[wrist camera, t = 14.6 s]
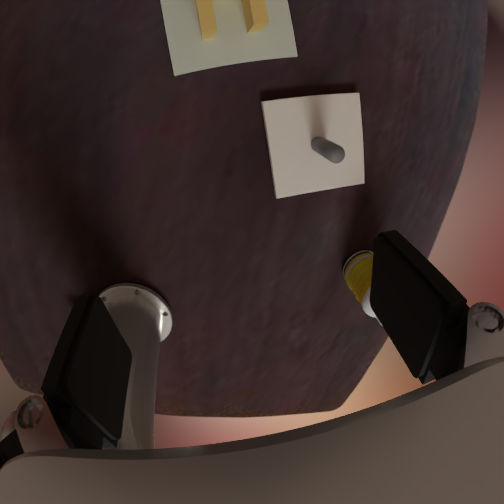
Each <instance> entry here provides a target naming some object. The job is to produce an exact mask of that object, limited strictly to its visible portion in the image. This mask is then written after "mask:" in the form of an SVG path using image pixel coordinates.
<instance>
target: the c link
mask: <svg viewBox="0 0 504 504" xmlns="http://www.w3.org/2000/svg"><path fill="white" fill-rule="evenodd" d="M195 2H196V8H197V13H198V19H199V24H200V30H201V35H202V40H206V39H212V38H216V35H217V30H218V29H217V24H216V18H215V13H214V8H213V2H212V0H195ZM241 2H242V7H243V12H244V17H245V23H246V28H247V33H253V32H261V31H262V30H263V29H264V28H265V27H266V26H267V25H268V24H269V19H268V13H267V8H266V3H265V0H241Z"/></svg>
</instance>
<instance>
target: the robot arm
mask: <svg viewBox="0 0 504 504" xmlns="http://www.w3.org/2000/svg"><path fill="white" fill-rule="evenodd" d="M466 303H467V300H466V299H465V298H464V297H463V295H462V294H461V293H460V292H459V291H458V290H457V289H456V288H455V287H454V286H453V285H452V284H451V283H450V282H449V281H448V280H447V279H446V278H445V277H444V276H443V275H442V274H441V273H440V272H439V271H438V270H437V269H436V268H435V267H434V266H433V265H432V264H431V263H430V262H429V261H428V260H427V259H426V258H425V257H424V256H423V255H422V254H421V253H420V252H419V251H418V250H417V249H416V248H415V247H414V246H413V245H412V244H411V243H409V242H408V241H407V240H406V239H405V238H404V237H403V236H402V235H401V234H400V233H399V232H398V231H396V230H391V231H386V232H382V233H379V235H378V238H376V239H375V240H374V250H373V265H372V278H371V289H370V306H371V308H372V310H373V312H374V313H375V315H376V316H377V318H378V320H379V321H380V323H381V324H382V326H383V327H384V329H385V331H386V332H387V334H388V335H389V337H390V339H391V340H392V342H393V344H394V345H395V347H396V348H397V350H398V352H399V353H400V355H401V357H402V358H403V360H404V362H405V363H406V365H407V366H408V368H409V370H410V372H411V373H412V375H413V376H414V377H415V378H419V380H420V381H421V383H422V384H425V383H427V382H430V381H432V380H434V379H436V381H435V382H433V383H430V384H428V385H426V386H423V387H421V388H418V389H416V390H414V391H411V392H409V393H406V394H404V395H401V396H399V397H396V398H394V399H391V400H388V401H386V402H383V403H380V404H378V405H375V406H372V407H369V408H366V409H363V410H360V411H357V412H354V413H351V414H348V415H345V416H341V417H339V418H335V419H331V420H328V421H325V422H321V423H317V424H313V425H310V426H306V427H302V428H297V429H293V430H289V431H285V432H280V433H275V434H271V435H266V436H260V437H255V438H250V439H244V440H237V441H231V442H224V443H216V444H208V445H200V446H190V447H178V448H164V449H155V445H154V411H155V396H156V383H157V371H158V360H159V349H160V342H161V341H163V340H164V339H165V338H166V337H167V336H168V335H169V333H170V331H171V328H172V322H173V318H172V312H171V309H170V307H169V305H168V304H167V302H166V301H165V300H164V299H163V298H162V296H160V295H159V294H158V293H156V292H155V291H153V290H151V289H150V288H148V287H145V286H142V285H139V284H134V283H118V284H114V285H111V286H109V287H107V288H105V289H104V290H103V291H102V292H101V293H100V294H99V296H98V297H97V296H96V295H95V294H93V293H91V294H86V295H81V296H78V298H77V299H76V302H75V304H74V306H73V308H72V310H71V313H70V315H69V317H68V319H67V322H66V324H65V326H64V329H63V331H62V334H61V336H60V338H59V341H58V343H57V346H56V348H55V351H54V354H53V356H52V359H51V361H50V364H49V367H48V370H47V372H46V375H45V378H44V381H43V384H42V387H41V390H42V391H43V392H44V396H43V398H42V397H41V396H39V395H33V396H29V397H27V398H25V399H24V400H23V401H22V402H21V403H20V404H19V405H18V407H17V409H16V410H15V411H13V412H11V413H10V414H9V415H8V416H7V417H6V419H5V421H4V423H3V425H2V429H1V432H0V504H504V312H503V311H502V310H501V309H500V308H499V307H497V306H496V305H494V304H491V303H486V302H480V303H476V304H474V305H473V306H472V307H471V308H469V307H468V306H467V304H466Z"/></svg>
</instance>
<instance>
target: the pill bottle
mask: <svg viewBox="0 0 504 504" xmlns="http://www.w3.org/2000/svg"><path fill="white" fill-rule="evenodd" d="M372 265H373V252H372V251H368V250H364V251H359V252H357V253H355V254H353V255H352V256H351V257H350V258H349V259H348V260H347V261H346V263H345V265H344V268H343V277H344V280H345V282H346V283H347V285H348V286H349V288H350V289H351V291H352V293H353V294H354V296H355V297H356V299H357V300H358V302H359V303H360V305H361V307H362V308H363V310H364V311H365V313H366V314H368V315H369V316H371V317H376V318H377V316H376V315H375V313H374V312H373V310H372V308H371V306H370V289H371V278H372ZM377 320H378V318H377ZM378 321H379V320H378ZM379 323H380V321H379ZM380 324H381V323H380ZM381 325H382V324H381Z"/></svg>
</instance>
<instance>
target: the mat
mask: <svg viewBox="0 0 504 504" xmlns="http://www.w3.org/2000/svg"><path fill="white" fill-rule="evenodd" d="M160 1H161V7H162V12H163V18H164V24H165V29H166V35H167V40H168V46H169V51H170V56H171V61H172V66H173V72H174V76H177V75H181V74H185V73H190V72H194V71H199V70H204V69H209V68H214V67H219V66H225V65H231V64H237V63H244V62H251V61H259V60H267V59H277V58H288V57H298V56H297V50H296V44H295V38H294V32H293V27H292V21H291V16H290V11H289V6H288V1H287V0H265V3H266V8H267V13H268V19H269V24H268V25H267V26H266V27H265V28H264V29H263V30H262V31H261V32H253V33H247V28H246V23H245V17H244V12H243V7H242V2H241V0H212V2H213V8H214V13H215V18H216V24H217V29H218V30H217V35H216V38H212V39H206V40H202V35H201V30H200V24H199V19H198V13H197V8H196V2H195V0H160Z"/></svg>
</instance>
